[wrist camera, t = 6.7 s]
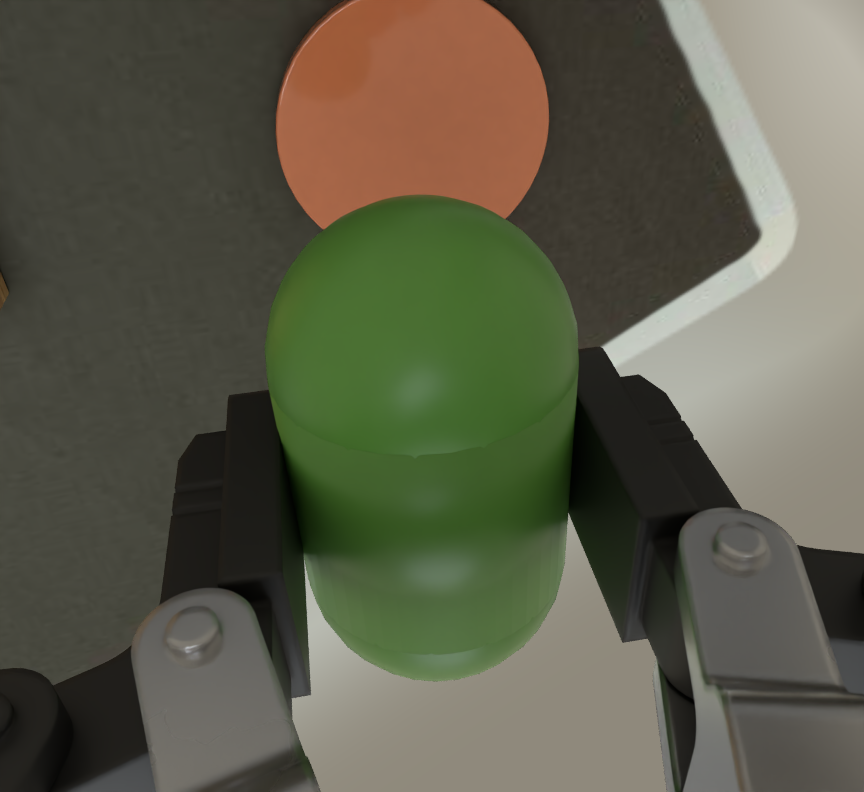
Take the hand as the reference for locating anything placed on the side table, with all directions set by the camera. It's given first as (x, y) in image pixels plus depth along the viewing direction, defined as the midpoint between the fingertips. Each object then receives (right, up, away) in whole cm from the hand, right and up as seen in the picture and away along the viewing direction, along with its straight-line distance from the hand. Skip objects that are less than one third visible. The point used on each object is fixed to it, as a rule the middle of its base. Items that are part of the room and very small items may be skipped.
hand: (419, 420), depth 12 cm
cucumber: (0, +1, +1) cm, 1 cm away
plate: (0, +8, +12) cm, 15 cm away
